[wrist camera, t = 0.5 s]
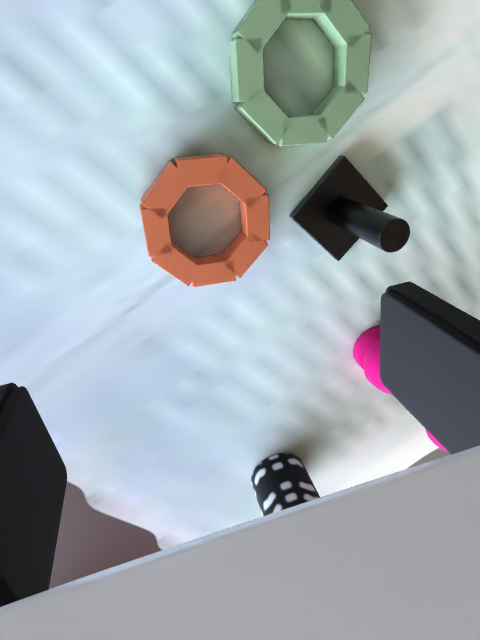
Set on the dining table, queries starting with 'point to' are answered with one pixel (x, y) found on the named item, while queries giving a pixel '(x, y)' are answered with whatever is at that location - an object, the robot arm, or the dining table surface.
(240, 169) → the ring terracotta
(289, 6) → the ring green
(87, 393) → the dining table surface
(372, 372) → the pepper mill
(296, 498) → the white-spotted black cylinder
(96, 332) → the dining table surface
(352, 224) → the peg stand
